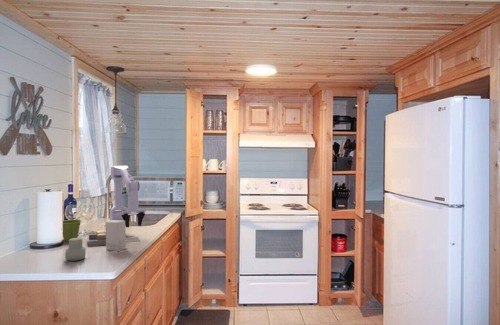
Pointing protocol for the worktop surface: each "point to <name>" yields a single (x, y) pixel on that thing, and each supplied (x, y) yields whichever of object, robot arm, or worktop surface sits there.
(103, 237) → the box stamped
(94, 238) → the parts bin
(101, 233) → the box plain
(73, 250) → the air freshener
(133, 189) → the robot arm
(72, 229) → the plant pot
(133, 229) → the worktop surface
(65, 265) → the worktop surface
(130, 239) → the coaster
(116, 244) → the skincare box
